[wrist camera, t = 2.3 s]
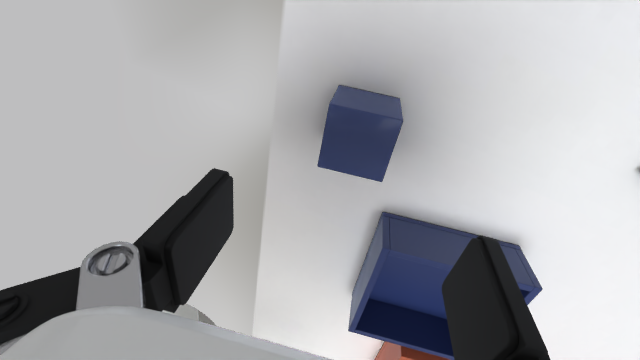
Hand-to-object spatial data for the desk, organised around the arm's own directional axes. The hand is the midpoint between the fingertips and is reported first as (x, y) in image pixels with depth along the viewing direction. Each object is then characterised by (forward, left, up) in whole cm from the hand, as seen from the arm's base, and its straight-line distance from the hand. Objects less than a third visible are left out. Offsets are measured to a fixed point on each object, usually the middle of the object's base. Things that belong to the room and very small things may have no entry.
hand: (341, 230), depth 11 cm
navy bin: (+10, -14, -13) cm, 22 cm away
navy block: (0, 0, -13) cm, 13 cm away
